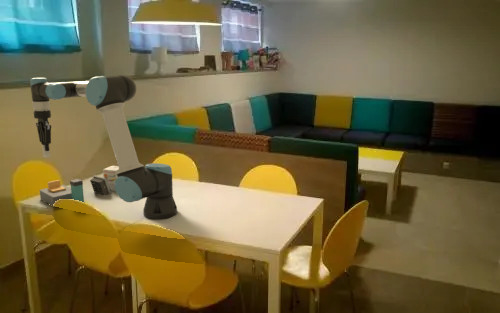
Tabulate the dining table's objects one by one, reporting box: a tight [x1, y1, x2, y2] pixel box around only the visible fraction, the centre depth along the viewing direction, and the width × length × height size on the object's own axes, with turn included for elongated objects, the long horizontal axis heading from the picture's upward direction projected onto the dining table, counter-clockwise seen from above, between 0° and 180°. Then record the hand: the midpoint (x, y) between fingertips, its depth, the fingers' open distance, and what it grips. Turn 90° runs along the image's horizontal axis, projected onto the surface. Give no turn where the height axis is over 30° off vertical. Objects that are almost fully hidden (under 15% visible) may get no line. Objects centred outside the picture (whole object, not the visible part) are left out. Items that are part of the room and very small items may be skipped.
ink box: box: [102, 165, 119, 192], centre depth 232 cm, size 9×8×12 cm
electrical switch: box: [89, 175, 111, 196], centre depth 224 cm, size 9×5×9 cm, turn 57°
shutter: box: [47, 179, 66, 192], centre depth 213 cm, size 6×6×4 cm
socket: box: [39, 184, 72, 207], centre depth 213 cm, size 16×12×5 cm
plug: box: [69, 178, 85, 203], centre depth 207 cm, size 4×4×12 cm
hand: (46, 156), depth 216 cm, fingers closed
